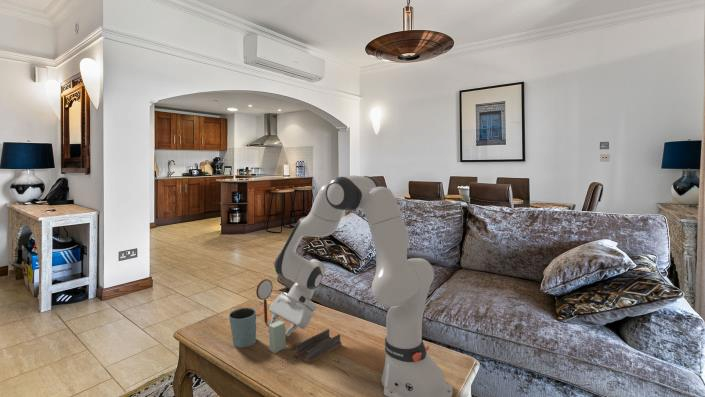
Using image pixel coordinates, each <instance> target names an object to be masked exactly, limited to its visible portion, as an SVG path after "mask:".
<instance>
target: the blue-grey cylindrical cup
mask: <svg viewBox="0 0 705 397" xmlns="http://www.w3.org/2000/svg"><path fill="white" fill-rule="evenodd" d="M228 320H229V324H230V325H229V326H230V330H231V336H232V344H233V346H234V347H235V348H238V349H239V348H240V349H243V348H248V347H251V346H253V345H254V344H256V341H257V323H256V322H257V310H256V309H255V308H252V307H240V308H237V309H234V310H232V311H231V312H229V315H228Z"/></svg>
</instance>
